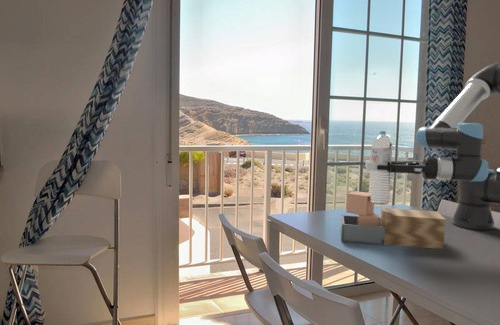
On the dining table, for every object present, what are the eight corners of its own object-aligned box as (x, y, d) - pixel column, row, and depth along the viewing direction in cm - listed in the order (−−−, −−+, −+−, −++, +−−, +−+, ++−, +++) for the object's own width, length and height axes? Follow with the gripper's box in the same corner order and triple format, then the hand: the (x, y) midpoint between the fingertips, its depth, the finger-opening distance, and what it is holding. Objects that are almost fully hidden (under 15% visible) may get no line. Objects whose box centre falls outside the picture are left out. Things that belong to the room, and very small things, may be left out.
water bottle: (390, 205, 144) (394, 131, 142) (369, 204, 146) (373, 131, 143) (388, 201, 151) (391, 131, 148) (368, 200, 153) (371, 130, 150)
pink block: (377, 213, 154) (357, 211, 155) (379, 217, 147) (358, 216, 148) (376, 233, 155) (356, 231, 156) (378, 238, 148) (357, 237, 149)
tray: (379, 233, 157) (380, 217, 156) (383, 245, 142) (385, 227, 142) (340, 230, 159) (341, 214, 159) (341, 241, 145) (342, 224, 144)
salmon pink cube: (373, 212, 154) (374, 193, 154) (366, 215, 149) (367, 196, 148) (354, 209, 159) (355, 191, 158) (346, 212, 153) (347, 193, 153)
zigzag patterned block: (435, 238, 152) (437, 211, 151) (443, 249, 140) (445, 219, 139) (379, 234, 155) (381, 207, 154) (383, 244, 144) (385, 215, 143)
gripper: (442, 183, 134) (367, 179, 139) (429, 175, 154) (363, 172, 158) (444, 160, 134) (368, 157, 138) (430, 154, 153) (364, 152, 157)
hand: (366, 165), depth 148 cm, fingers closed on water bottle, 7 cm apart
